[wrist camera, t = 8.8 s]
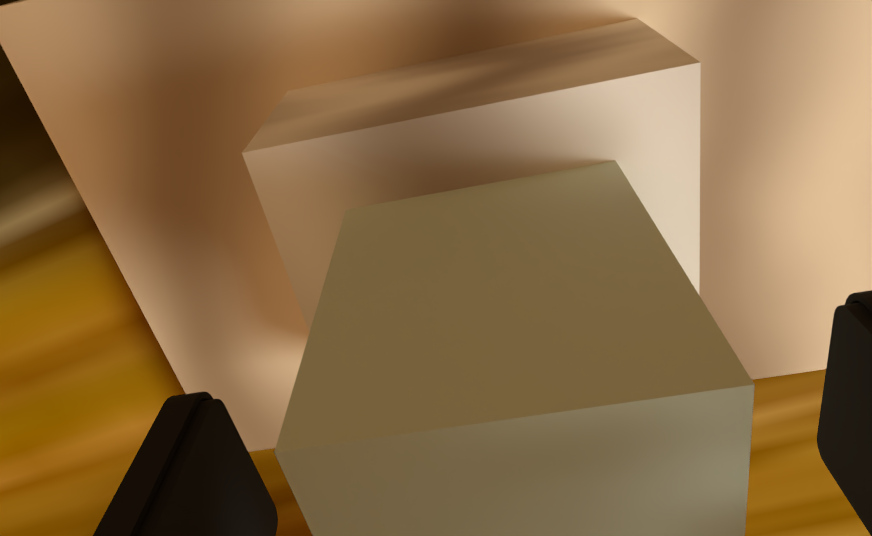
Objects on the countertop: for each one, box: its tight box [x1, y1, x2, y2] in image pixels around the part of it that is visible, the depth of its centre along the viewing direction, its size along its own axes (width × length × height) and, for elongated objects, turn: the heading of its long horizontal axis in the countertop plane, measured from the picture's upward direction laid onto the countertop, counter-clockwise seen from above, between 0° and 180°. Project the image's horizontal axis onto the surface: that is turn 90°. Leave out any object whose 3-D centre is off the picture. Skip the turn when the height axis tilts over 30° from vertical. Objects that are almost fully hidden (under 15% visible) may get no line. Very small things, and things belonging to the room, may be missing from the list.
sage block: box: [274, 160, 754, 536], centre depth 11 cm, size 5×5×6 cm
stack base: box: [0, 0, 872, 452], centre depth 15 cm, size 20×14×6 cm
